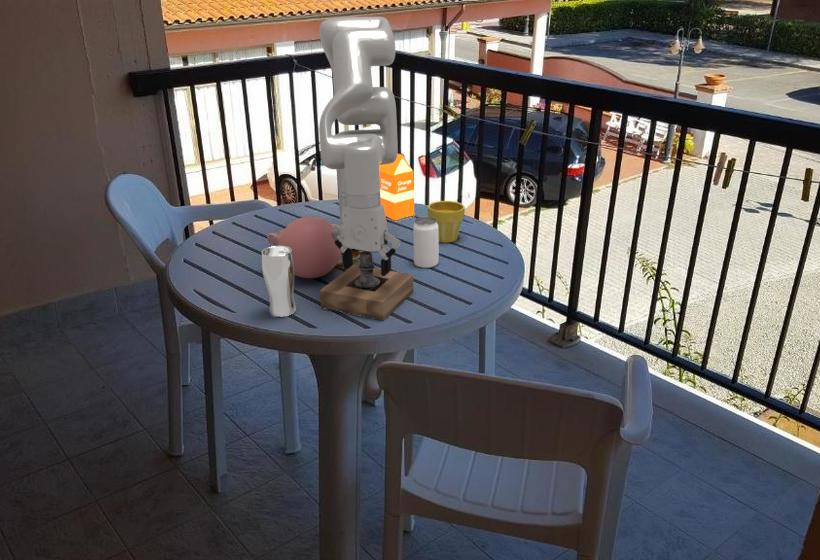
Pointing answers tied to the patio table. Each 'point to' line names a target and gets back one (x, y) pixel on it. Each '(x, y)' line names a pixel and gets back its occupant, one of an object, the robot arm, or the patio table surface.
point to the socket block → (367, 293)
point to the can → (426, 242)
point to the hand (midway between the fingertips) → (366, 270)
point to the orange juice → (397, 188)
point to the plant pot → (447, 218)
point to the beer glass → (279, 279)
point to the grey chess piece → (367, 273)
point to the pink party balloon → (309, 246)
